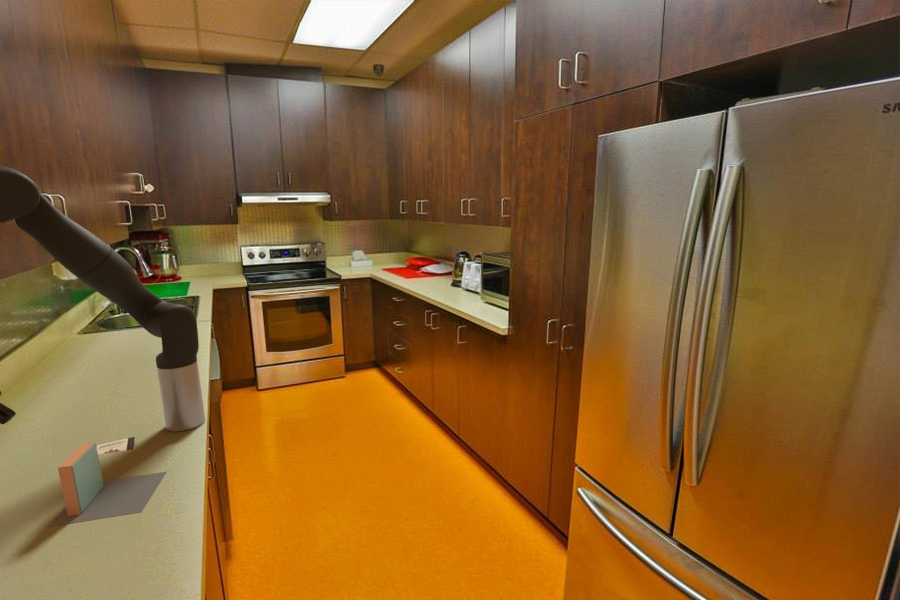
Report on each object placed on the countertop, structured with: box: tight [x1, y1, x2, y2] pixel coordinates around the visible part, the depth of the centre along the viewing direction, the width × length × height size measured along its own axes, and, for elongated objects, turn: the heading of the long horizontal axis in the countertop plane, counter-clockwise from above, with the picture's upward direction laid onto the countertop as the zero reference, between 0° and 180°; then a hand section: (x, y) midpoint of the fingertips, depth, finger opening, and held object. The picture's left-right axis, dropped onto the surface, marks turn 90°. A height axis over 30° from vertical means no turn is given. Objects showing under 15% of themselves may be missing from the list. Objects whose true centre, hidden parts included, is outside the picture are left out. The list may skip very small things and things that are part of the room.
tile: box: [57, 441, 104, 516], centre depth 88 cm, size 9×2×10 cm, turn 14°
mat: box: [47, 471, 168, 528], centre depth 90 cm, size 14×15×1 cm
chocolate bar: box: [96, 436, 136, 455], centre depth 105 cm, size 9×1×18 cm
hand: (10, 419), depth 83 cm, fingers closed
